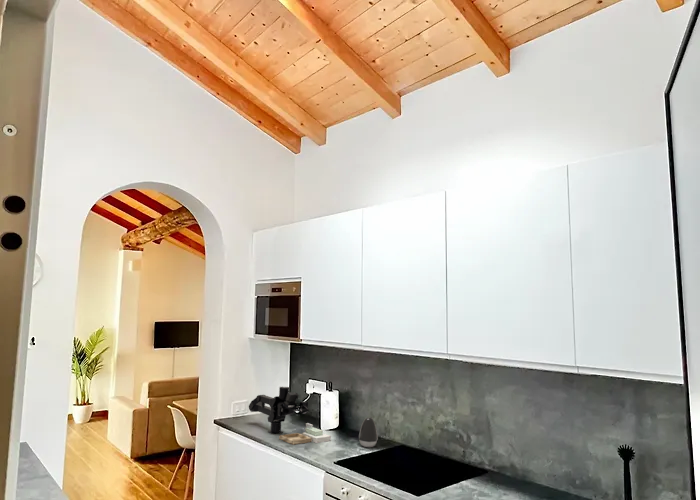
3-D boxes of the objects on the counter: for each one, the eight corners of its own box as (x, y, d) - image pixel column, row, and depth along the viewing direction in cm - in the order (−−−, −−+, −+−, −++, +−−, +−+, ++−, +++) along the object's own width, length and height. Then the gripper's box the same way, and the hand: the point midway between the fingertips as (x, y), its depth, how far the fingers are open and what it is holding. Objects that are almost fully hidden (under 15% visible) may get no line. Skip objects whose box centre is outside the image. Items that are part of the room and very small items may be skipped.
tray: (279, 439, 285) (279, 435, 285) (297, 436, 293) (297, 432, 293) (293, 444, 274) (293, 441, 274) (311, 442, 282) (311, 438, 282)
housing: (301, 437, 291) (302, 432, 291) (315, 435, 297) (316, 430, 297) (316, 443, 280) (316, 438, 280) (330, 440, 286) (330, 436, 287)
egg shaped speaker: (379, 444, 282) (380, 416, 284) (375, 449, 272) (376, 420, 274) (361, 442, 285) (362, 414, 287) (356, 447, 275) (357, 418, 277)
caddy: (302, 436, 295) (303, 423, 296) (309, 435, 298) (310, 422, 299) (315, 441, 285) (315, 428, 286) (322, 439, 288) (323, 427, 289)
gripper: (272, 392, 289) (287, 397, 277) (300, 390, 301) (316, 394, 289) (271, 413, 288) (286, 418, 276) (299, 410, 300) (314, 415, 288)
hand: (301, 411), depth 282 cm, fingers open, 9 cm apart
